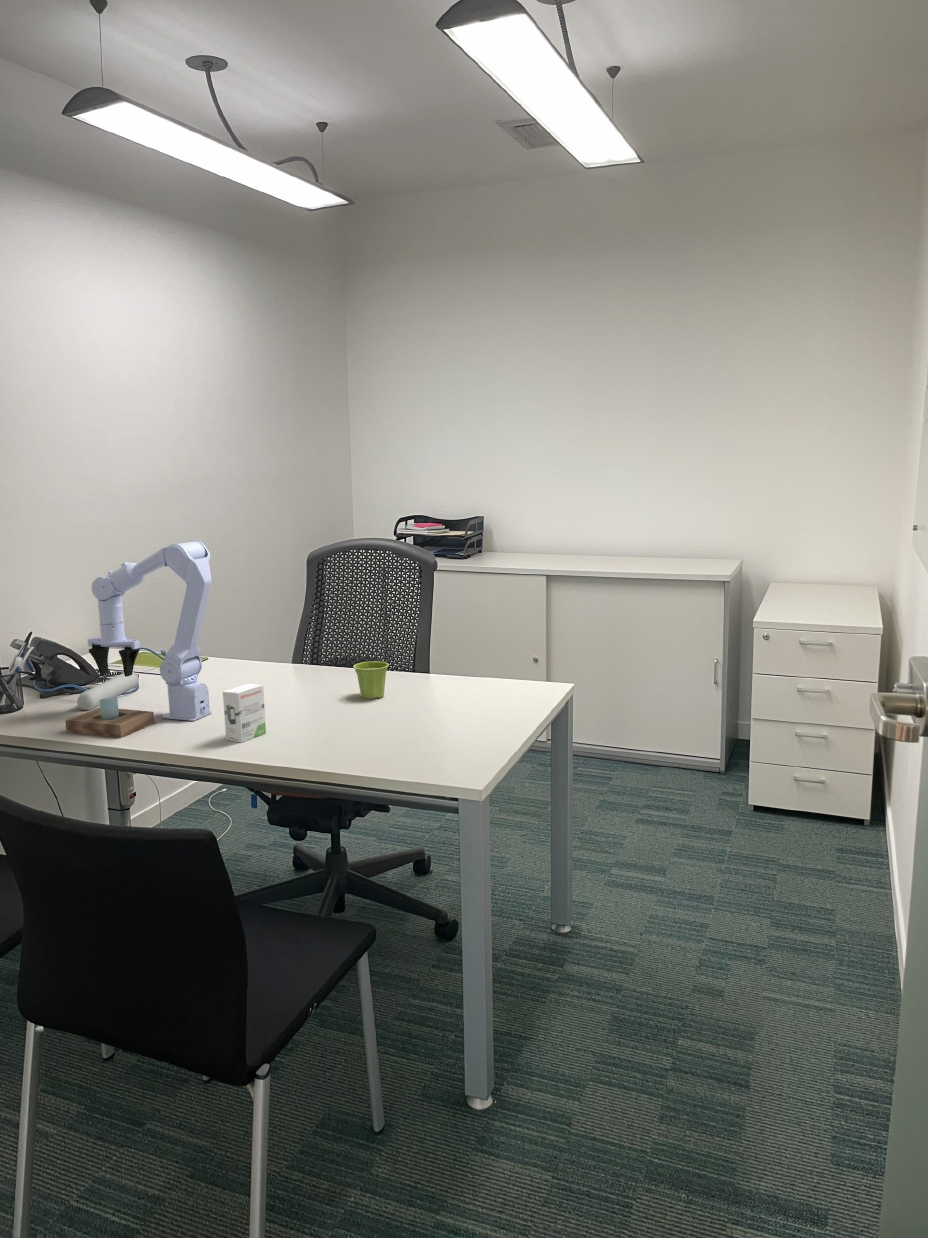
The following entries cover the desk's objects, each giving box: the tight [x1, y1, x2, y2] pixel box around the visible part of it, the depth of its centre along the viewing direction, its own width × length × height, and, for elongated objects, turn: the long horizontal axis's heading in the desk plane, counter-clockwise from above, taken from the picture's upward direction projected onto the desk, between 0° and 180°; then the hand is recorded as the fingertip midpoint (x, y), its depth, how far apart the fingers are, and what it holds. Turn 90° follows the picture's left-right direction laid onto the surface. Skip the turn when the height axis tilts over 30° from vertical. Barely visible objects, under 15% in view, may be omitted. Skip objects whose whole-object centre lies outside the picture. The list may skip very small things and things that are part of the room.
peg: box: [99, 697, 119, 720], centre depth 223 cm, size 4×4×7 cm
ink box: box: [222, 683, 267, 744], centre depth 213 cm, size 9×5×12 cm, turn 149°
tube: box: [76, 671, 140, 711], centre depth 250 cm, size 5×5×25 cm
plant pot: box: [353, 661, 389, 700], centre depth 247 cm, size 9×9×9 cm
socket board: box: [65, 706, 155, 738], centre depth 223 cm, size 16×12×3 cm
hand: (116, 674), depth 237 cm, fingers open, 7 cm apart
